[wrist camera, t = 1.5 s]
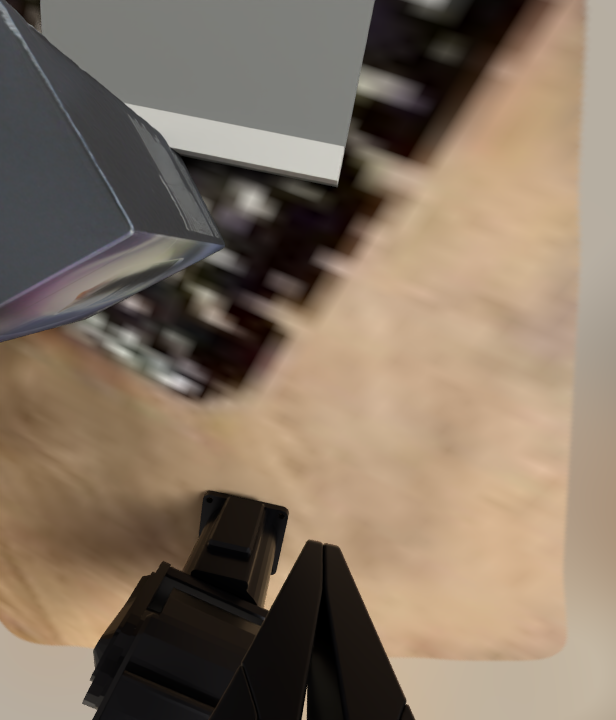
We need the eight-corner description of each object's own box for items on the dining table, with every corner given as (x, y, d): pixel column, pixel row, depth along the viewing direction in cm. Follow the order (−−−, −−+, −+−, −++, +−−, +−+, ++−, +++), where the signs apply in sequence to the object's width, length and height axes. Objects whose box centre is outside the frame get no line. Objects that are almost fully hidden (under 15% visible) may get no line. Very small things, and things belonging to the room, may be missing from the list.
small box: (86, 327, 20) (-135, 391, 10) (18, 227, 19) (-325, 187, 9) (231, 251, 19) (137, 239, 9) (172, 135, 17) (-30, -43, 7)
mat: (337, 187, 17) (337, 180, 16) (54, 130, 18) (29, 119, 16) (392, -89, 14) (398, -128, 13) (41, -153, 14) (9, -198, 13)
